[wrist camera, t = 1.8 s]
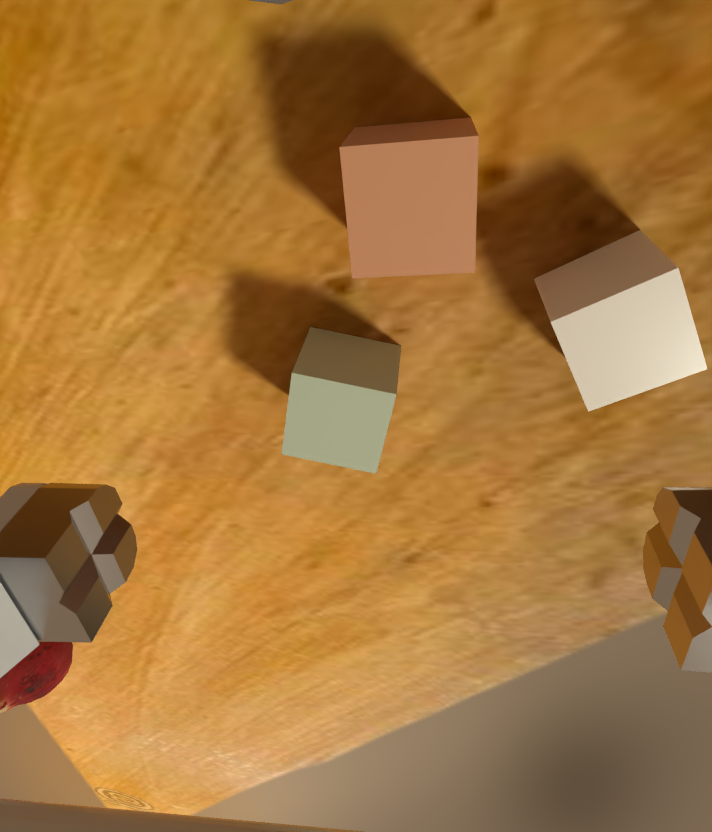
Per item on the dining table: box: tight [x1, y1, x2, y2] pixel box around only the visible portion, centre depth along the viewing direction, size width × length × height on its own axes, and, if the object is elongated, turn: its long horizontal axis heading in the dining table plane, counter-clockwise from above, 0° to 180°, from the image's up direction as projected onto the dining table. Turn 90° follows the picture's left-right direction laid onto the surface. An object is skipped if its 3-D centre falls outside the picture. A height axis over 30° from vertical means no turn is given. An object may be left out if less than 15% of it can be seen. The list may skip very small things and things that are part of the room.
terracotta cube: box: [339, 117, 479, 278], centre depth 24 cm, size 5×5×5 cm
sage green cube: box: [282, 327, 401, 474], centre depth 30 cm, size 5×5×5 cm
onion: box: [0, 642, 73, 713], centre depth 46 cm, size 6×6×8 cm
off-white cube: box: [534, 230, 707, 411], centre depth 26 cm, size 5×5×5 cm
